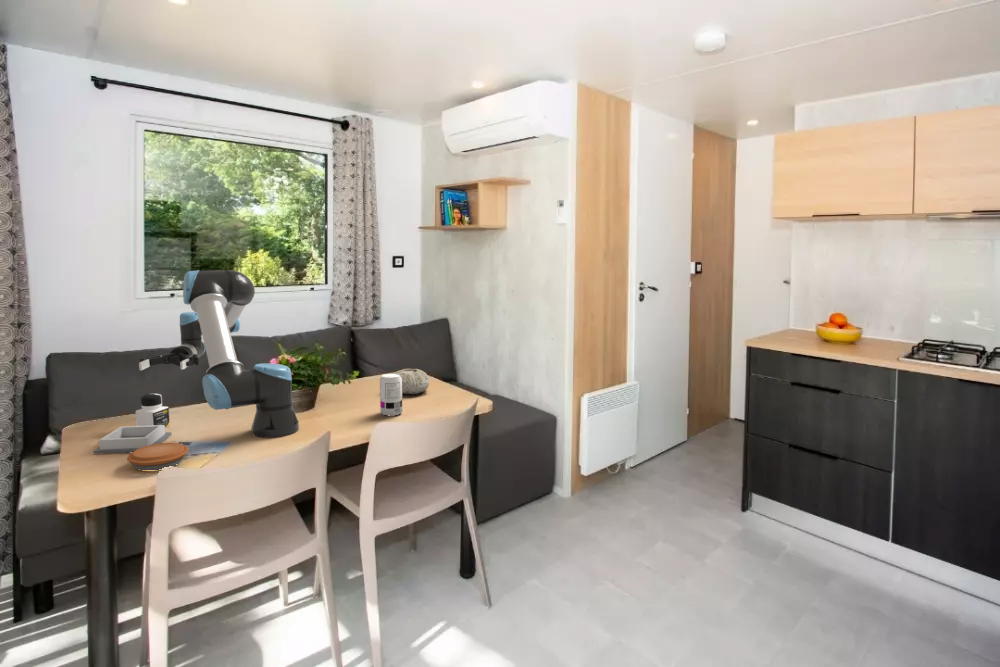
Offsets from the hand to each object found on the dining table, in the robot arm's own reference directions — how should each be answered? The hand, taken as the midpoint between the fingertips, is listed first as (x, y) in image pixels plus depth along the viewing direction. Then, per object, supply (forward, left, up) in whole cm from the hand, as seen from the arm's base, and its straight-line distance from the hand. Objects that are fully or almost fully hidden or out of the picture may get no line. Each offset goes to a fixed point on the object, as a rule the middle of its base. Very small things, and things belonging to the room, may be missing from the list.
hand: (161, 366), depth 205 cm
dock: (-20, +16, -20) cm, 33 cm away
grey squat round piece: (-33, -87, -20) cm, 95 cm away
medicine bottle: (-7, +6, -20) cm, 22 cm away
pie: (-44, +17, -20) cm, 52 cm away
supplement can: (-53, -61, -20) cm, 83 cm away
